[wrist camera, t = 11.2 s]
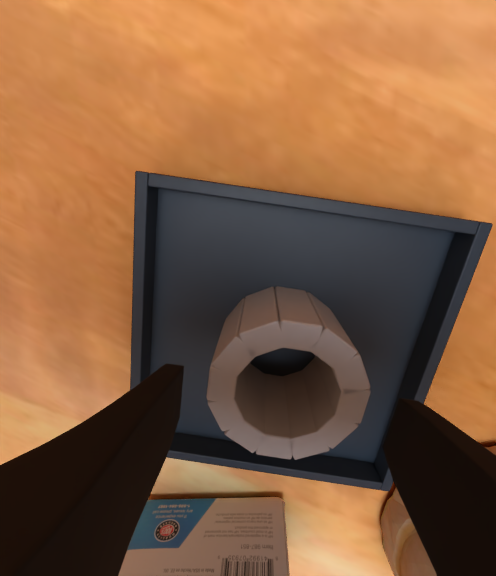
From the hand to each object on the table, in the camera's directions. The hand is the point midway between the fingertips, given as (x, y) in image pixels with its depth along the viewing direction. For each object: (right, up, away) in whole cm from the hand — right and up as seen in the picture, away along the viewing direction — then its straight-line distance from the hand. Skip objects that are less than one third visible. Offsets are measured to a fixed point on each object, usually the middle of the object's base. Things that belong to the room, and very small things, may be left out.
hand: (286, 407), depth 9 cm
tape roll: (0, +1, +4) cm, 5 cm away
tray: (0, +1, +5) cm, 5 cm away
